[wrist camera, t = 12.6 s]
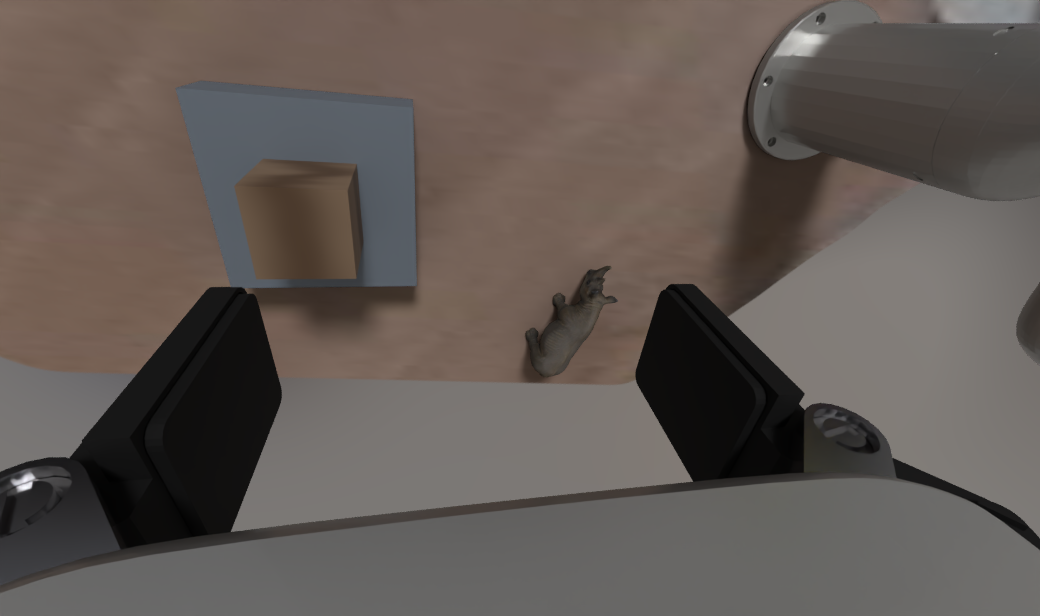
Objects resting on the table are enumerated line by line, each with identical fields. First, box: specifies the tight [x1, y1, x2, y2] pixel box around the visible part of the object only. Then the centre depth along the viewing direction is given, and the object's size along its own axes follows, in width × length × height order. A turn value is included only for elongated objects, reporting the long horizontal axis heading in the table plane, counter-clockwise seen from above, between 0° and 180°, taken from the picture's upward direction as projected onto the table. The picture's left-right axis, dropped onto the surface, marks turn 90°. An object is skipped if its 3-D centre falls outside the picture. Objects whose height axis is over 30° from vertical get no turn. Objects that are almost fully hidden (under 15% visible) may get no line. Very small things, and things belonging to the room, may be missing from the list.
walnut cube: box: [234, 159, 364, 279], centre depth 29 cm, size 6×6×6 cm
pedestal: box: [176, 81, 417, 288], centre depth 33 cm, size 14×14×4 cm
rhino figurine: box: [526, 266, 618, 377], centre depth 44 cm, size 4×14×6 cm, turn 147°
